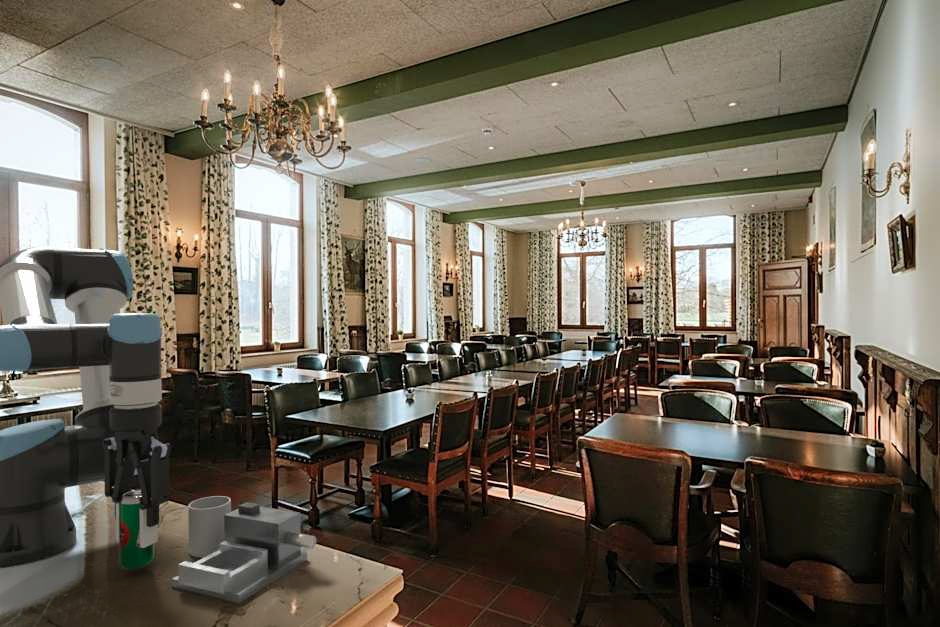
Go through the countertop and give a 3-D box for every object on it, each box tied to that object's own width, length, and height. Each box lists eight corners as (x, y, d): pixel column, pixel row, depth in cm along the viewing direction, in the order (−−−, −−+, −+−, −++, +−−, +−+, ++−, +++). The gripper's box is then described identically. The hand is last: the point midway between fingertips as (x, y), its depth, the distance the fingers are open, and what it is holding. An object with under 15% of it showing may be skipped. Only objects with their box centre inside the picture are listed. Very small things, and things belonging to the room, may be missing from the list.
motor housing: (167, 590, 88) (167, 529, 88) (246, 548, 104) (245, 496, 104) (255, 611, 82) (254, 546, 82) (324, 563, 97) (324, 508, 97)
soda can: (142, 571, 91) (142, 498, 91) (112, 570, 91) (111, 498, 91) (160, 556, 96) (160, 488, 96) (131, 556, 96) (131, 488, 96)
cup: (199, 562, 98) (199, 512, 98) (175, 547, 104) (174, 500, 104) (238, 548, 104) (238, 501, 104) (213, 535, 110) (212, 490, 110)
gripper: (77, 404, 93) (78, 541, 93) (154, 412, 86) (155, 560, 87) (120, 397, 100) (121, 525, 100) (194, 404, 93) (195, 541, 94)
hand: (136, 541), depth 94 cm, fingers closed on soda can, 5 cm apart
